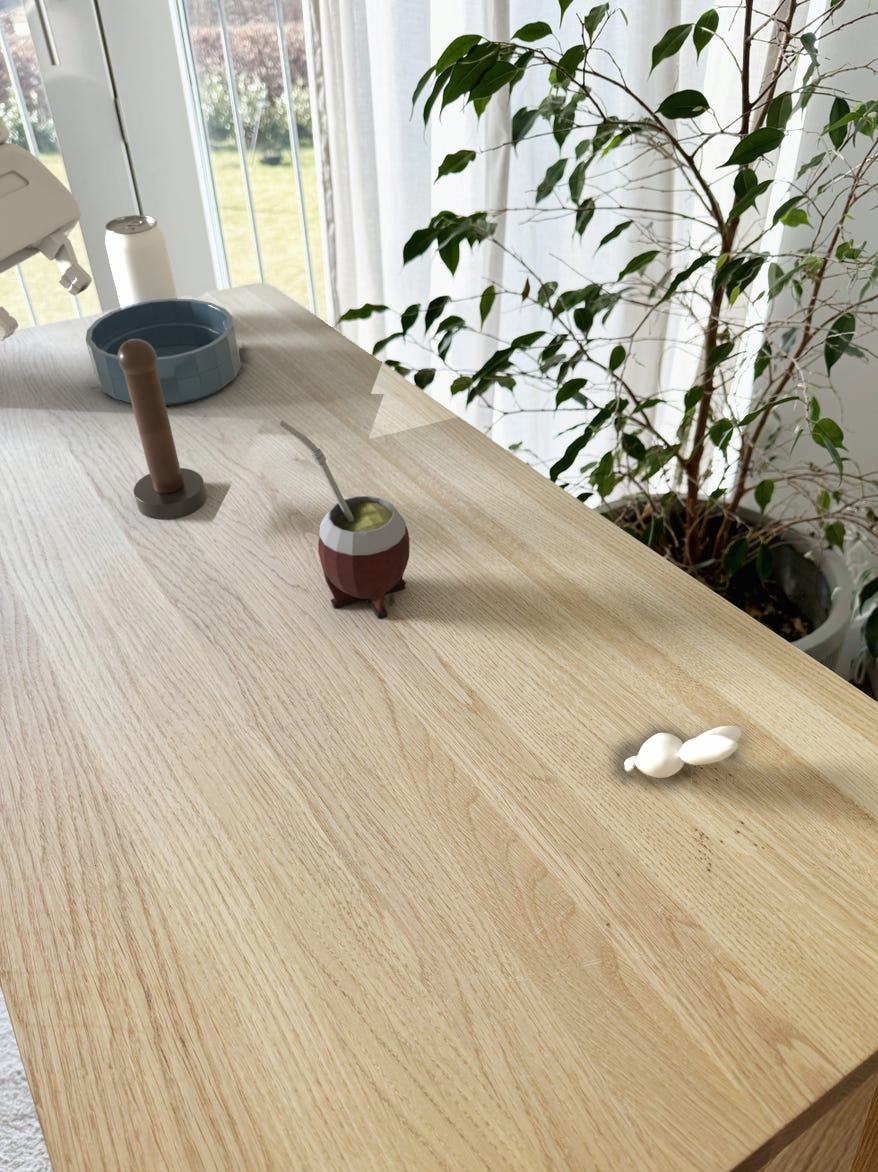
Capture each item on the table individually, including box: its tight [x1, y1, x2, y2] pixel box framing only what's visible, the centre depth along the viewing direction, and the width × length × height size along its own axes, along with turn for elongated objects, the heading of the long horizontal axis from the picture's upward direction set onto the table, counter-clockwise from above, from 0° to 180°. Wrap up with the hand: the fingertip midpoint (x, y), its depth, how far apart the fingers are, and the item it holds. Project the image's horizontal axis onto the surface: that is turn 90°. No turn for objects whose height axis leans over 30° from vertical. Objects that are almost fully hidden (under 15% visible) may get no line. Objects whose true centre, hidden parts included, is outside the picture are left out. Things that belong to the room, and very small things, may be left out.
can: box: [104, 214, 178, 308], centre depth 116 cm, size 6×6×12 cm
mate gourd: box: [279, 420, 410, 620], centre depth 77 cm, size 8×8×15 cm
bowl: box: [85, 298, 242, 407], centre depth 109 cm, size 15×15×6 cm
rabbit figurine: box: [623, 725, 743, 779], centre depth 66 cm, size 6×4×8 cm
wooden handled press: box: [118, 339, 207, 521], centre depth 85 cm, size 6×6×16 cm
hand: (48, 310), depth 83 cm, fingers open, 8 cm apart
